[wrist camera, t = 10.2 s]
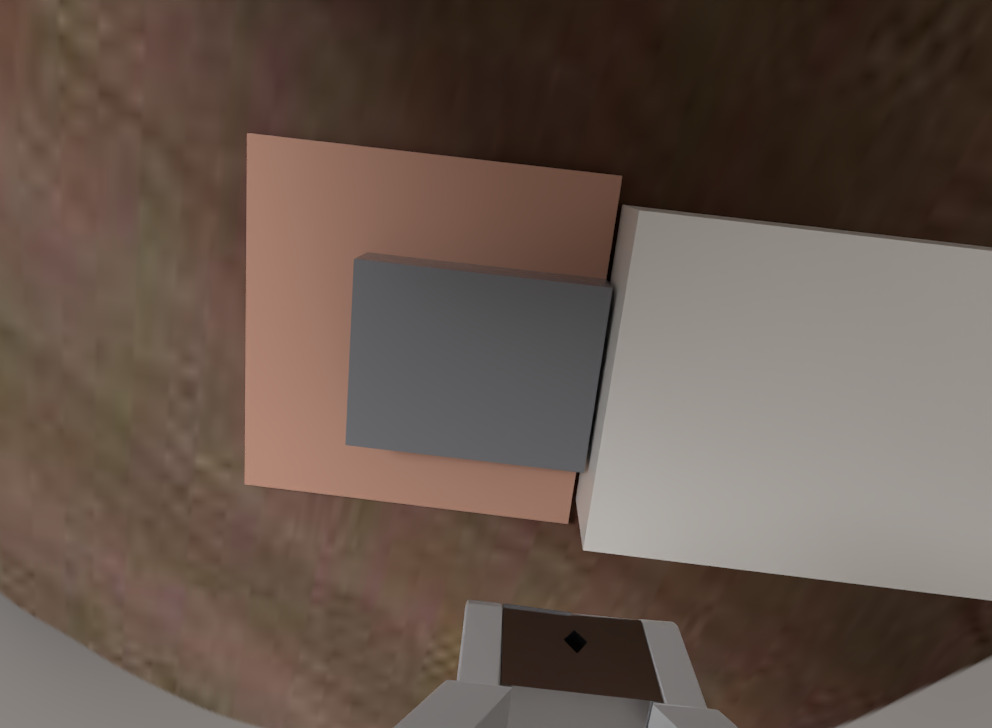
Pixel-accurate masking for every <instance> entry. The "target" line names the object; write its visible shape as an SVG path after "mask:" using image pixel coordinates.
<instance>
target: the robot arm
mask: <svg viewBox="0 0 992 728" xmlns="http://www.w3.org/2000/svg"><path fill="white" fill-rule="evenodd" d="M394 728H738V727H737V726H736V725H735V724H733V723H732V722H731V721H730V720H729V719H728V718H727V717H726V716H724V715H723V714H722V713H721V712H720V711H719V710H715V709H707V706H706V704H705V701H704V698H703V695H702V692H701V690H700V687H699V684H698V681H697V678H696V676H695V673H694V670H693V667H692V664H691V662H690V659H689V656H688V653H687V650H686V648H685V645H684V642H683V639H682V636H681V634H680V631H679V628H678V626H677V625H676V624H675V623H674V622H669V621H657V620H644V619H639V620H632V619H622V618H612V617H603V616H593V615H583V614H573V613H571V612H563V611H556V610H548V609H541V608H533V607H526V606H518V605H511V604H503V605H501V603H494V602H485V601H477V600H467V603H466V606H465V614H464V623H463V632H462V640H461V649H460V657H459V666H458V674H457V681H453V680H446V681H444V682H443V683H442V684H441V685H440V686H439V687H438V688H437V689H436V690H434V691H433V692H432V693H431V694H430V695H429V696H428V697H427V698H426V699H425V700H423V701H422V702H421V703H420V704H419V705H418V706H417V707H416V708H415V709H413V710H412V711H411V712H410V713H409V714H408V715H407V716H406V717H405V718H404V719H402V720H401V721H400V722H399V723H398V724H397V725H396V726H395V727H394Z"/></svg>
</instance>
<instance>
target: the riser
mask: <svg viewBox="0 0 992 728" xmlns="http://www.w3.org/2000/svg"><path fill="white" fill-rule="evenodd" d="M610 285H611V286H612V288H613V289H612V295H611V302H610V308H609V315H608V321H607V328H606V334H605V341H604V347H603V354H602V360H601V367H600V373H599V380H598V386H597V393H596V399H595V405H594V412H593V418H592V425H591V431H590V438H589V444H588V451H587V457H586V464H585V470H584V473H580V474H579V480H578V486H577V493H576V505H577V512H578V519H579V526H580V533H581V540H582V547H583V550H585V551H593V552H601V553H609V554H617V555H626V556H634V557H642V558H650V559H658V560H666V561H674V562H682V563H690V564H699V565H707V566H715V567H723V568H731V569H739V570H747V571H755V572H763V573H771V574H780V575H788V576H796V577H804V578H812V579H820V580H828V581H836V582H844V583H853V584H861V585H869V586H877V587H885V588H893V589H901V590H909V591H917V592H925V593H934V594H942V595H950V596H958V597H966V598H974V599H982V600H990V601H992V247H986V246H977V245H968V244H959V243H951V242H942V241H933V240H925V239H916V238H907V237H899V236H890V235H881V234H873V233H864V232H855V231H847V230H838V229H829V228H821V227H812V226H803V225H794V224H786V223H777V222H768V221H760V220H751V219H742V218H734V217H725V216H716V215H708V214H699V213H690V212H682V211H673V210H664V209H655V208H647V207H638V206H629V205H622V208H621V214H620V221H619V227H618V233H617V240H616V246H615V252H614V259H613V265H612V271H611V278H610Z"/></svg>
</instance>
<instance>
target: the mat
mask: <svg viewBox="0 0 992 728" xmlns="http://www.w3.org/2000/svg"><path fill="white" fill-rule="evenodd" d="M621 182H622V176H619V175H610V174H601V173H592V172H584V171H575V170H566V169H557V168H549V167H540V166H531V165H522V164H514V163H505V162H496V161H487V160H479V159H470V158H461V157H453V156H444V155H435V154H426V153H418V152H409V151H400V150H391V149H383V148H374V147H365V146H356V145H348V144H339V143H330V142H321V141H313V140H304V139H295V138H287V137H278V136H269V135H260V134H252V133H247V216H246V367H245V484H246V485H254V486H262V487H271V488H279V489H287V490H295V491H303V492H311V493H319V494H328V495H336V496H344V497H352V498H360V499H368V500H376V501H385V502H393V503H401V504H409V505H417V506H425V507H433V508H442V509H450V510H458V511H466V512H474V513H482V514H490V515H499V516H507V517H515V518H523V519H531V520H539V521H547V522H556V523H564V524H568V521H569V514H570V508H571V502H572V495H573V489H574V482H575V476H576V472H572V471H563V470H554V469H546V468H537V467H529V466H520V465H512V464H503V463H494V462H486V461H477V460H469V459H460V458H452V457H443V456H434V455H426V454H417V453H409V452H400V451H392V450H383V449H374V448H366V447H357V446H349V445H345V442H346V420H347V398H348V376H349V354H350V332H351V311H352V289H353V267H354V259H355V258H357V257H359V256H361V255H363V254H365V253H367V252H369V253H377V254H386V255H395V256H404V257H413V258H422V259H431V260H440V261H449V262H458V263H467V264H476V265H485V266H494V267H503V268H512V269H521V270H530V271H539V272H548V273H557V274H566V275H575V276H584V277H593V278H602V279H606V278H607V272H608V265H609V259H610V252H611V246H612V240H613V233H614V227H615V221H616V214H617V208H618V201H619V195H620V189H621Z"/></svg>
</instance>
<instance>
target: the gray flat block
mask: <svg viewBox="0 0 992 728" xmlns="http://www.w3.org/2000/svg"><path fill="white" fill-rule="evenodd" d="M612 289H613V288H612V286H611V285H610V283H609V282H608V281H607V279H602V278H593V277H584V276H575V275H566V274H557V273H548V272H539V271H530V270H521V269H512V268H503V267H494V266H485V265H476V264H467V263H458V262H449V261H440V260H431V259H422V258H413V257H404V256H395V255H386V254H377V253H369V252H367V253H365V254H363V255H361V256H359V257H357V258H355V259H354V267H353V289H352V311H351V332H350V354H349V376H348V398H347V420H346V442H345V445H349V446H357V447H366V448H374V449H383V450H392V451H400V452H409V453H417V454H426V455H434V456H443V457H452V458H460V459H469V460H477V461H486V462H494V463H503V464H512V465H520V466H529V467H537V468H546V469H554V470H563V471H572V472H580V473H584V470H585V464H586V457H587V451H588V444H589V438H590V431H591V425H592V418H593V412H594V405H595V399H596V393H597V386H598V380H599V373H600V367H601V360H602V354H603V347H604V341H605V334H606V328H607V321H608V315H609V308H610V302H611V295H612Z"/></svg>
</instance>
